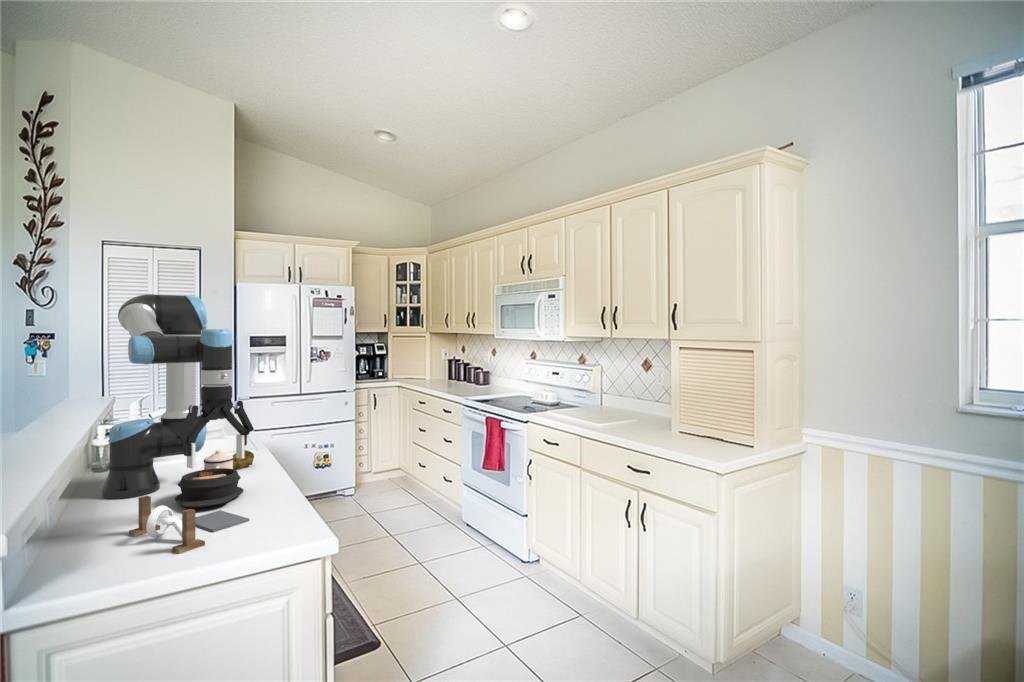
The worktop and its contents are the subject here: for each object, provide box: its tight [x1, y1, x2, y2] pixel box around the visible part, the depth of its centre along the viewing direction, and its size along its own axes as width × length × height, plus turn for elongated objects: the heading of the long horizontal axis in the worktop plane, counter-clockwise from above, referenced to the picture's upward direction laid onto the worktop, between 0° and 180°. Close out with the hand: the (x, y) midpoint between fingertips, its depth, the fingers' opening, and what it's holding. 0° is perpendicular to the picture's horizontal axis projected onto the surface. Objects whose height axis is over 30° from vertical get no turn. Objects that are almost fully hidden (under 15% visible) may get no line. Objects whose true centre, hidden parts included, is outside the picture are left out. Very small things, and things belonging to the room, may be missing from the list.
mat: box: [195, 509, 250, 533], centre depth 145 cm, size 14×10×1 cm
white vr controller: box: [146, 504, 182, 538], centre depth 132 cm, size 8×12×7 cm
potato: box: [232, 449, 255, 471], centre depth 198 cm, size 8×13×8 cm, turn 116°
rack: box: [128, 495, 206, 555], centre depth 132 cm, size 24×6×9 cm, turn 59°
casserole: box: [174, 468, 245, 508], centre depth 165 cm, size 25×19×8 cm
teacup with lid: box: [203, 449, 234, 470], centre depth 182 cm, size 12×9×12 cm
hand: (216, 462), depth 145 cm, fingers open, 13 cm apart
